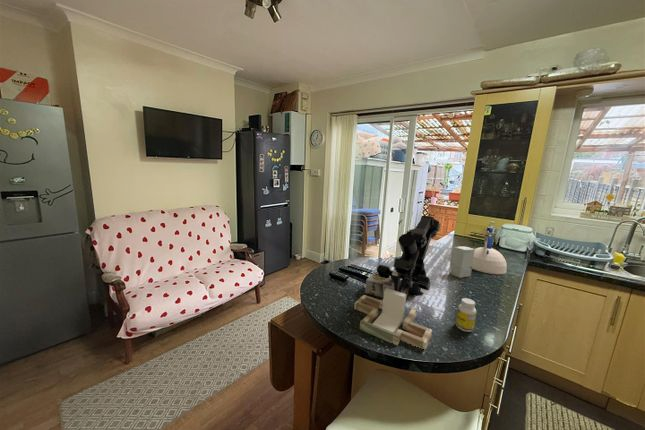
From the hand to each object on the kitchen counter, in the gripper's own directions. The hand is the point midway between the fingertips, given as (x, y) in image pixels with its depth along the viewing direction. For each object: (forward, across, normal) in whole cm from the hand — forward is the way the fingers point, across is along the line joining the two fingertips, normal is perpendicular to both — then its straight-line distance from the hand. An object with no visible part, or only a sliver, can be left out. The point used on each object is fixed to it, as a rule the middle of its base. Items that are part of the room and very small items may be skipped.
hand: (395, 298), depth 90 cm
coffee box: (-7, -16, +12) cm, 21 cm away
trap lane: (+8, 0, +2) cm, 8 cm away
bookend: (+9, 0, +1) cm, 9 cm away
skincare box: (-38, +14, +48) cm, 63 cm away
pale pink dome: (-54, +24, +65) cm, 88 cm away
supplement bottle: (-1, +22, +12) cm, 24 cm away
